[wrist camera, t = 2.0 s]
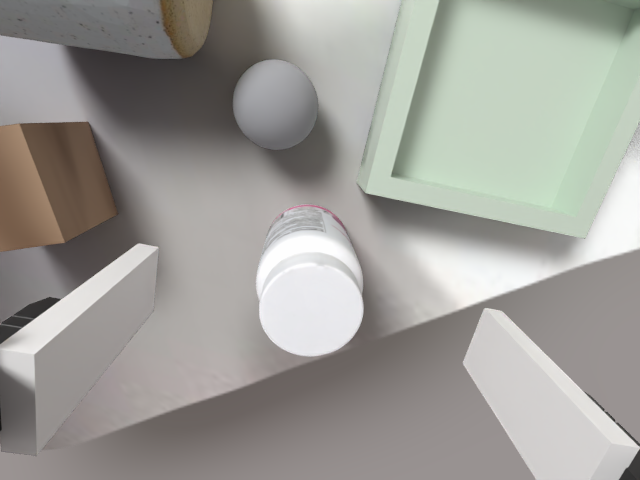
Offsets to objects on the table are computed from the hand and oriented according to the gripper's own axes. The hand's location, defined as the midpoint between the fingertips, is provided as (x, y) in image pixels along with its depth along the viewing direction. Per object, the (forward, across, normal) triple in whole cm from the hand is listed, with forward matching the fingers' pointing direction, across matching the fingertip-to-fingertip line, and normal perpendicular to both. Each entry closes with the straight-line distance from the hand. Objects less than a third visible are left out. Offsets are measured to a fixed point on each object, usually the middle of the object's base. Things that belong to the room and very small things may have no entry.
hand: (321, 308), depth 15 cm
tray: (+8, +7, +10) cm, 15 cm away
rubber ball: (+6, -4, +7) cm, 10 cm away
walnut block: (+8, -15, +1) cm, 16 cm away
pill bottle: (+8, -1, 0) cm, 8 cm away
